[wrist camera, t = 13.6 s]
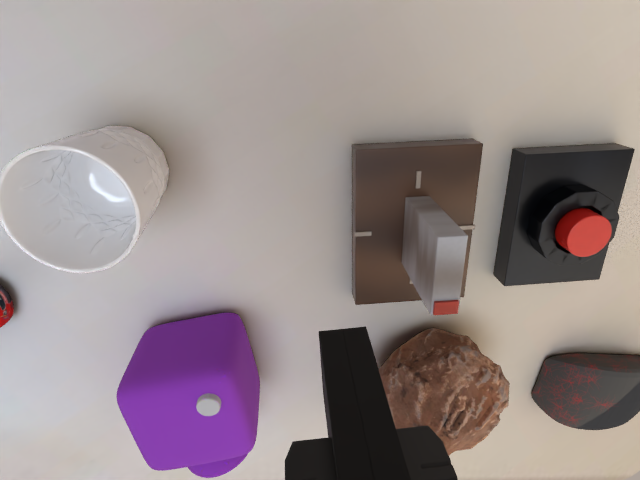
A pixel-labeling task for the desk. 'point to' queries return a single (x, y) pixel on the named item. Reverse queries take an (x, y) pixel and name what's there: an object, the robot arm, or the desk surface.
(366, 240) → the panel
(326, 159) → the desk surface
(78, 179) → the white cup
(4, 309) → the race car
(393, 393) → the decorative rock
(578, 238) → the button
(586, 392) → the dark grey rounded block
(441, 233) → the tap handle
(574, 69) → the desk surface
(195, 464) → the toy camera
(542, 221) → the button block
